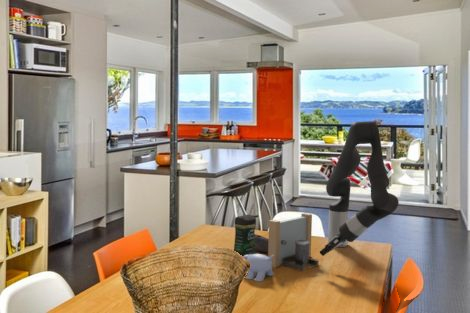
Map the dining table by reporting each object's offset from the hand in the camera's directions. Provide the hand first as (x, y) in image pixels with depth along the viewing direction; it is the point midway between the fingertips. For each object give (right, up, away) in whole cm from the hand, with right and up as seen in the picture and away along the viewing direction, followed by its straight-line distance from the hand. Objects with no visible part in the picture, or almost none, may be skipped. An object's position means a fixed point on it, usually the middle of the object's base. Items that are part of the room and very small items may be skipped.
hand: (325, 251), depth 187 cm
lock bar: (-9, -7, +6) cm, 13 cm away
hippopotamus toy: (-28, -8, -7) cm, 30 cm away
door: (-13, -6, +13) cm, 19 cm away
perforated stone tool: (-24, -6, +26) cm, 35 cm away
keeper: (-9, -7, +6) cm, 13 cm away
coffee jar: (-32, -6, +17) cm, 37 cm away
